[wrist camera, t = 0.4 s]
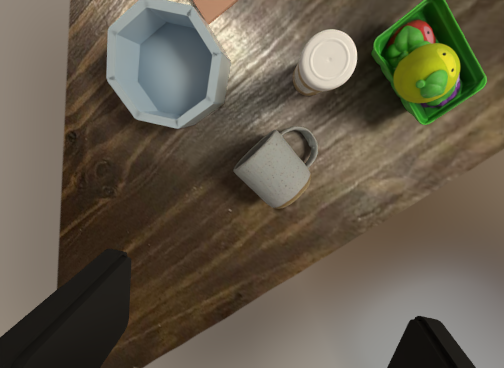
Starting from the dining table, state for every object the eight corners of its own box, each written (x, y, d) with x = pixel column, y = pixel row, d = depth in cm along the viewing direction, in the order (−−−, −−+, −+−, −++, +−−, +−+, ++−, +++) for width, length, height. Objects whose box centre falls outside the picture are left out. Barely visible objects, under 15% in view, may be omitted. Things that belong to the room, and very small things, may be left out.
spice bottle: (328, 92, 34) (360, 84, 21) (294, 98, 34) (304, 94, 22) (325, 54, 33) (356, 21, 20) (289, 62, 33) (297, 35, 20)
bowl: (189, -6, 32) (170, -30, 26) (247, 87, 35) (241, 83, 29) (115, 58, 35) (84, 49, 29) (173, 139, 38) (154, 145, 32)
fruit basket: (459, 86, 32) (550, 77, 22) (394, 130, 35) (447, 142, 24) (412, 6, 30) (487, -48, 20) (347, 58, 33) (382, 35, 22)
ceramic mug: (274, 201, 39) (274, 222, 32) (236, 162, 38) (227, 175, 30) (329, 153, 36) (343, 164, 29) (290, 110, 35) (294, 110, 28)
